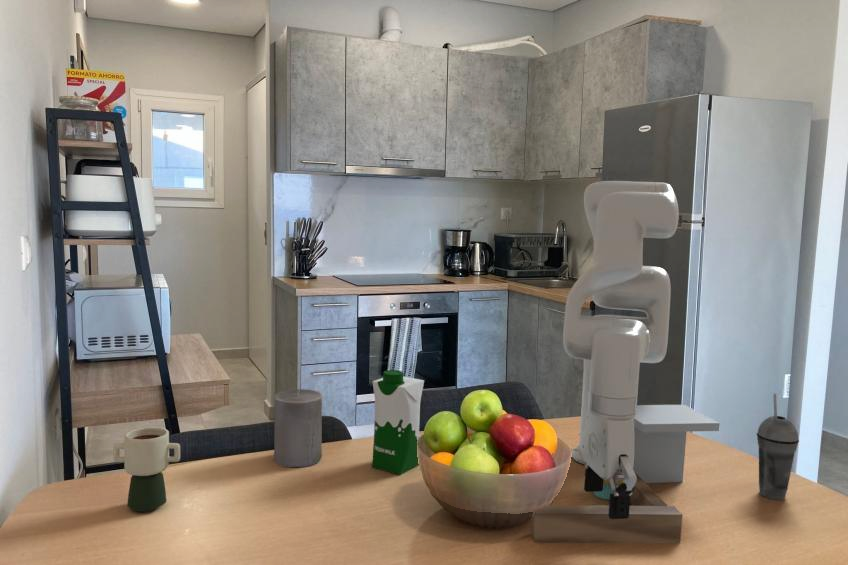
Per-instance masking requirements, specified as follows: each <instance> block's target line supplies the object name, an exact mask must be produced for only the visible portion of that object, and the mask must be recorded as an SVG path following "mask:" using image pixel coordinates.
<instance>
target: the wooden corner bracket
mask: <svg viewBox="0 0 848 565" xmlns="http://www.w3.org/2000/svg"><path fill="white" fill-rule="evenodd" d="M635 475H636V477H637V481H636V483H635V485H634V491H633V492H632V496H630V504H631V503H632V504H631V505H630V509H629V517H628V518H626V519H610V518H609V516H608V515H609V505H598V504H597V505H594V504H593V505H592V504H591V505H587V504H586V505H585V504H584V505H583V504H582V505H581V504H579V505H578V504H577V505H576V504H547V505H548V506H545V507H544V508H542V509H539V510H537V511H535V514H534V515H533V517H532V516H531V517H532V518H531V520H530V535H531V538H532V539H533V542H534V543H543V544H544V543H557V544H558V543H559V544H560V543H563V544H565V543H566V544H567V543H568V544H569V543H570V544H571V543H574V544H576V543H577V544H578V543H579V544H580V543H581V544H583V543H584V544H586V543H587V544H589V543H590V544H596V543H597V544H681V539H682V538H681V537H682V525H683V513H682V512H681V511H679V509H678V508H676V507H675V506H674V505H668V504H667V503H666V502H665V501H664V500H663V499H662V498H661V497H660V496H659V495H658V494H657V493H656V492H655V491H654V489H652V488H651V487H650V486H649V484H648V483H645V482H644V481H643V480H642V479H641V478H640V477H639V476H638V475H637V474H636V473H635Z"/></svg>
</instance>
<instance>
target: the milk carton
mask: <svg viewBox="0 0 848 565" xmlns="http://www.w3.org/2000/svg"><path fill="white" fill-rule="evenodd" d="M424 383H425V380H423V379H419V378H413V377H407V376H404V372H403V371H401V370H396V369H394V370H393V369H391V370H390V369H387V370H384V371H383V372H382V377H381V378H378V379H375V380H373V381H372V387H373V388H372V389H373V395H374V417H373V418H374V420H373V422H374V425H373V444H372V445H373V446H372V451H373V452H372V460H371V461H372V463H371V467H372V468H375V469H377V470H381V471H385V472H389V473H391V474H395V475H399V476H401V475H403V474H404V473H406V472H408V471H410V470H412V469H414V468H416V467H418V466H420V463H419V464H418V457H417V441H418V439H420V415H421V413H420V412H421V400H422V395H423V389H424V385H425V384H424Z"/></svg>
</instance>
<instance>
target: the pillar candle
mask: <svg viewBox="0 0 848 565" xmlns="http://www.w3.org/2000/svg"><path fill="white" fill-rule="evenodd" d="M322 402H323V394H322V393H321V392H319V391H316V390H313V389H301V388H299V389H287V390H282V391H280V392H277V393H276V394H275V395H274V434H273V435H274V443H273V445H274V450H273V455H274V456H273V459H274V462H275V464H277V465H279V466H281V467H284V468H297V467H298V468H301V467H302V468H307V467H312V466H314V465H316V464H318V463H320V461H321V460H322V457H323V450H322V445H323V444H322V442H323V439H322V437H323V436H322V429H323V428H322V424H323V422H322V421H323V420H322V419H323V416H322V414H323V413H322V412H323V403H322Z"/></svg>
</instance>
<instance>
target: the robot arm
mask: <svg viewBox="0 0 848 565" xmlns="http://www.w3.org/2000/svg"><path fill="white" fill-rule="evenodd" d="M583 205H584V206H583V207H584V208H583V209H584V212H585V215H586V216H585V217H586V220H587V223H588V226H589V229H590V231H591V235H592V240H593V259H592V260H593V261H592V266H591V267H590V268H588V269H587V270H586V271H584V273H583V274H581V275H580V276H579V278H578V279H577V280H576V281H575V283H574V284H573V285H572V287H571V289H570V291H569V292H568V295H567V298H566V302H565V309H564V321H563V330H562V332H563V334H562V344H563V347H564V351H565V353H566V354H567V355H568V356H569V357H570V358H573V359H578V360H583V374H582V375H583V376H582V379H583V381H582V392H581V393H582V395H581V407H580V408H581V409H580V410H581V411H580V423H579V424H580V425H579V433H578V436H579V443H578V445H576V446H574V447H573V448H572V449H571V451H572V456H571V458H572V459H573V460H575V461H576V462H577V463H579V464H582V465H584V470H585V471H584V483H583V484H584V486H583V491H585V492H586V493H594V492H599V491H602V490H603V481H604V480H607V479H608V478H609V479H610V484H611V488H612V492H613V494H610V500H609V502H608V506H609V515H608V516H609V518H610V519H626V518H628V517H629V509H630V506H631V505H630V504H631V503H630V496H632V492H633V491H634V485H635V483H636V481H637V477H636V475H635V472H634V470H633V465H634V418H633V417H635V416H636V409H637V405H638V395H639V394H638V392H639V391H638V390H639V379H640V366H641V364H640V363H643V364H644V363H647V364H657V363H660V362H662V361H663V360H664V359H665V357H666V354H667V351H668V349H667V348H668V341H669V328H670V326H669V325H670V314H671V312H670V311H671V294H672V293H671V292H672V290H671V280H670V275H669V273H668V272H667V271H666V270H665V269H664V268H662V267H659V266H651V265H643V264H644V261H643V258H644V256H643V254H644V253H643V252H644V250H643V249H644V238H647V239H649V238H650V239H669V238H671V237H673V236H674V235H675V233H676V231H677V228H678V225H679V220H680V219H679V218H680V217H679V216H680V215H679V214H680V212H679V203H678V199H677V196H676V194H675V192H674V189H673V187H672V186H671V184H669V183H666V182H659V181H631V180H602V181H596V182H593V183H591V184H588V185H587V186H586V187H585V190H584V194H583ZM590 297H591V298H592V301H593V303H594V304H595V305H596V306H598V307H600V308H603V309H611V310H625V311H636V312H637V311H638V312H643V313H645V314H646V317H643V316H627V315H616V314H596V315H582V308H583V304H584V303H585V302H586V300H588V299H589V298H590ZM585 467H586V468H587V469H585ZM615 473H620V474H622V475H614V474H615ZM616 480H623V482H624V483H622V484H621V485H620V486H619V487H618V486H617V482H616Z"/></svg>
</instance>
